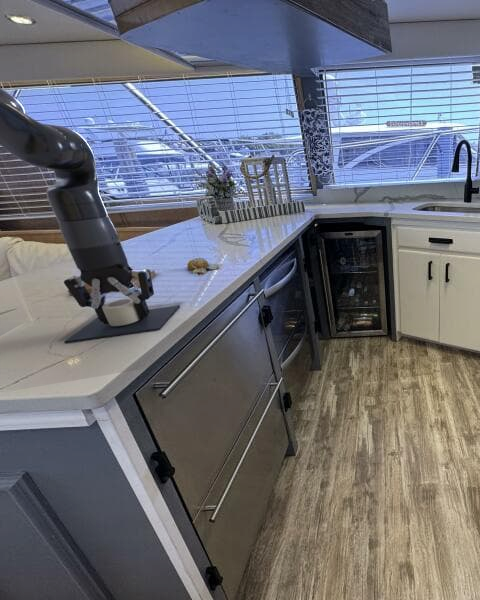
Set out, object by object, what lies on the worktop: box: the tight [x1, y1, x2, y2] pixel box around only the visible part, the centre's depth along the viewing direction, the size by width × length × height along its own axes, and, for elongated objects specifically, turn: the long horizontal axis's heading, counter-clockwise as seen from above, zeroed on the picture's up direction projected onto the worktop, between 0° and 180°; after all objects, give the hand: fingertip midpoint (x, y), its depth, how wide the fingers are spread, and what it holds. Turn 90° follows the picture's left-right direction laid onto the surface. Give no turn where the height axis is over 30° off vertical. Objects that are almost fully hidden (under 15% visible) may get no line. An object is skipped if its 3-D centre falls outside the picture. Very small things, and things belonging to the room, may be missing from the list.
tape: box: [102, 297, 140, 326], centre depth 67 cm, size 6×6×4 cm
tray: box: [67, 269, 156, 297], centre depth 90 cm, size 15×12×2 cm
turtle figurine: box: [187, 257, 221, 275], centre depth 101 cm, size 8×8×4 cm
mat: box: [63, 304, 181, 344], centre depth 68 cm, size 16×12×1 cm
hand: (127, 319), depth 68 cm, fingers closed on tape, 6 cm apart
